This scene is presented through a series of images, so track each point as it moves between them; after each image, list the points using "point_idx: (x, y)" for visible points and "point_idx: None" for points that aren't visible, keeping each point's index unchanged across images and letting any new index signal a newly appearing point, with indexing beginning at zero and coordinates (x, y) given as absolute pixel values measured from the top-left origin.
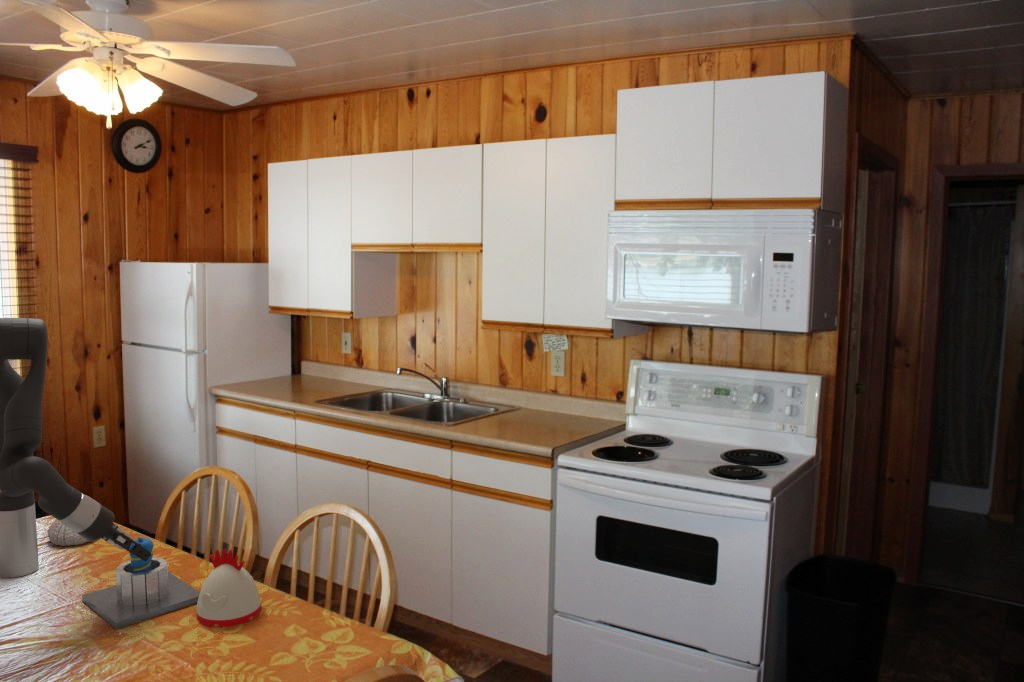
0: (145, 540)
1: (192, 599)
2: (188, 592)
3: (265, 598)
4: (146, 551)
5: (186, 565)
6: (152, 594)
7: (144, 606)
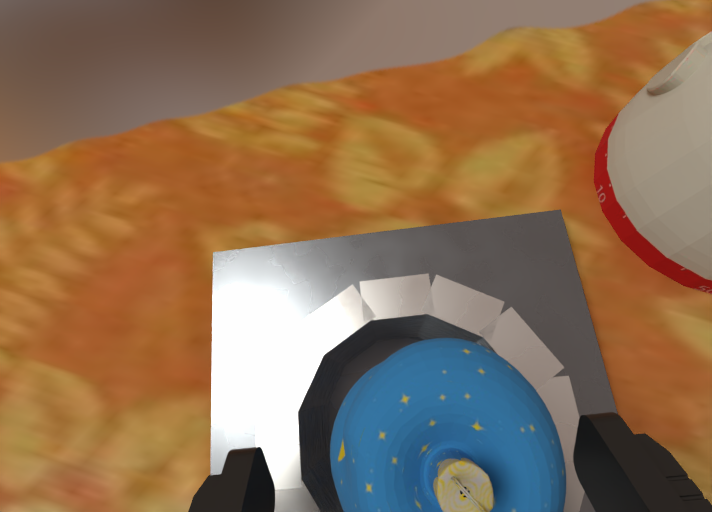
0: (463, 419)
1: (570, 258)
2: (501, 251)
3: (647, 56)
4: (653, 470)
5: (175, 173)
6: None
7: None
